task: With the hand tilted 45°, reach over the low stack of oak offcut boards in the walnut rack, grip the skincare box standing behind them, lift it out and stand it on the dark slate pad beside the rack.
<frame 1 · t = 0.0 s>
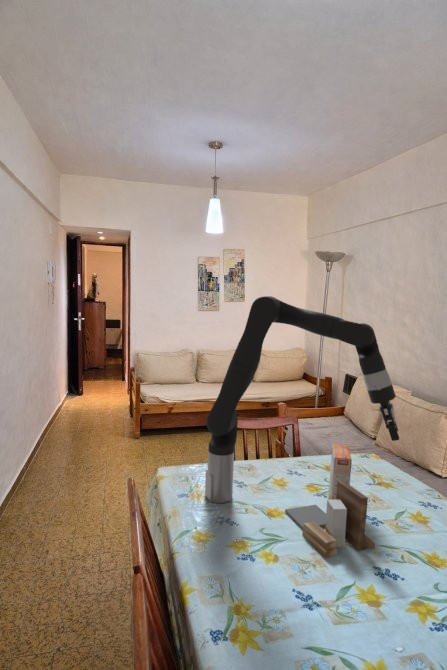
hand: (395, 435, 132), 31 cm above the table, tool tilted 20°, fingers open, 8 cm apart
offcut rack: (334, 541, 129), on the table
cracker box: (337, 509, 149), on the table
skincare box: (334, 542, 129), on the table
slate pad: (309, 518, 142), on the table
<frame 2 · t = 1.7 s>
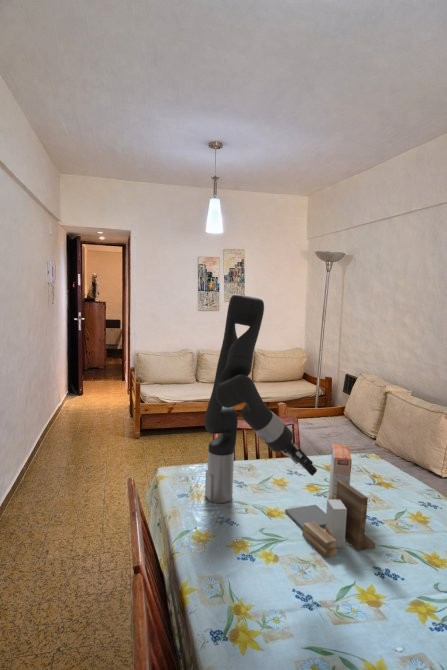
hand: (306, 466, 123), 25 cm above the table, tool tilted 45°, fingers open, 8 cm apart
nothing on the table moved.
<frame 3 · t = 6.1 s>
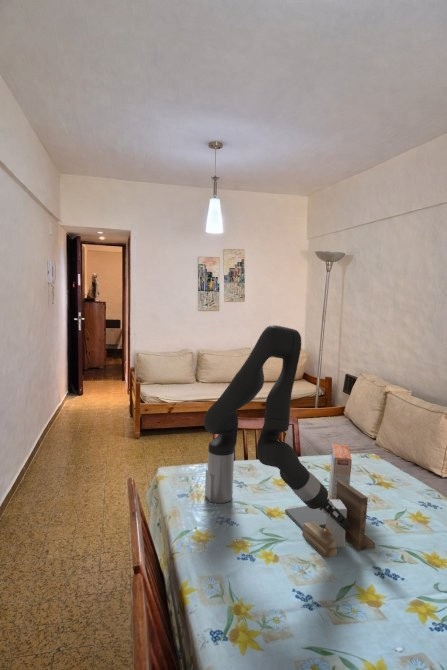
hand: (340, 521, 129), 6 cm above the table, tool tilted 45°, fingers closed on skincare box, 6 cm apart
skincare box: (334, 542, 129), on the table, touching gripper
everything else where it was.
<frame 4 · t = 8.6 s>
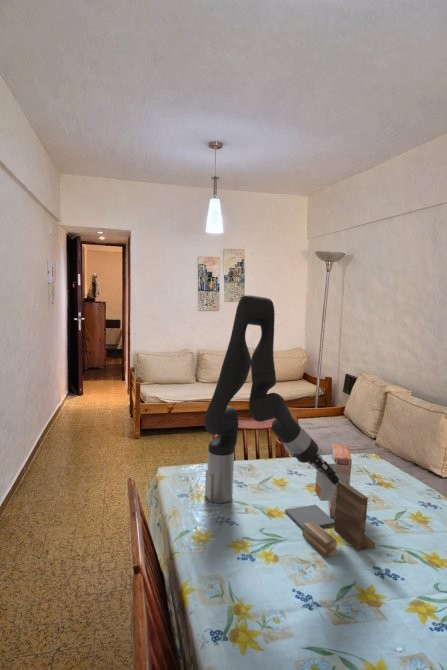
hand: (329, 476, 133), 17 cm above the table, tool tilted 45°, fingers closed on skincare box, 6 cm apart
skincare box: (323, 497, 134), point 11 cm above the table, touching gripper
everything else where it was.
when the fingers open (8 cm above the table, at t = 11.4 s): skincare box stays where it is, resting on slate pad.
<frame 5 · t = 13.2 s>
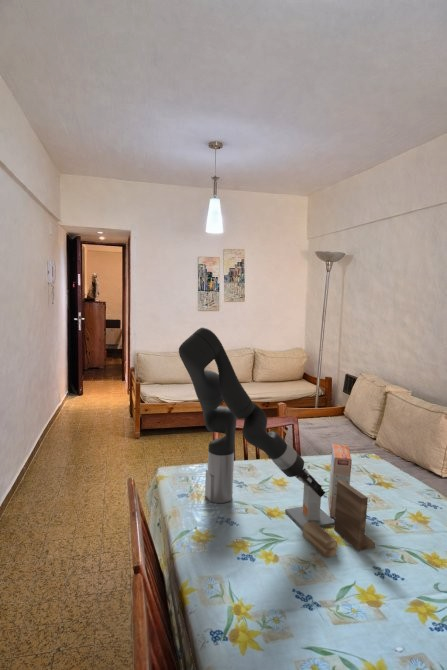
hand: (315, 488, 142), 10 cm above the table, tool tilted 45°, fingers open, 8 cm apart
skincare box: (310, 516, 141), point 1 cm above the table, touching gripper, slate pad
everything else where it was.
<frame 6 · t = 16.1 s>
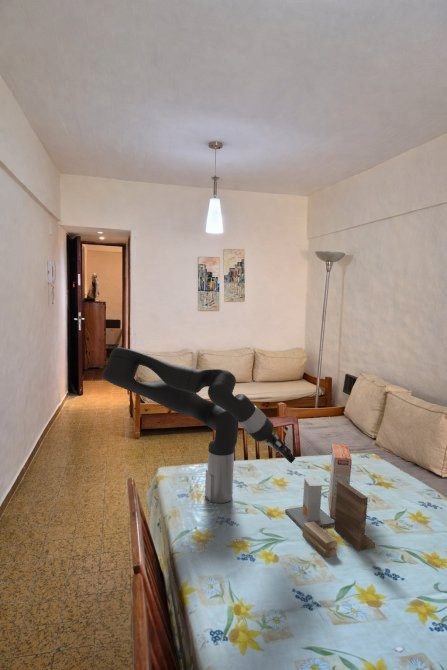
hand: (286, 455, 136), 22 cm above the table, tool tilted 45°, fingers open, 8 cm apart
skincare box: (310, 516, 141), point 1 cm above the table, touching slate pad
everything else where it was.
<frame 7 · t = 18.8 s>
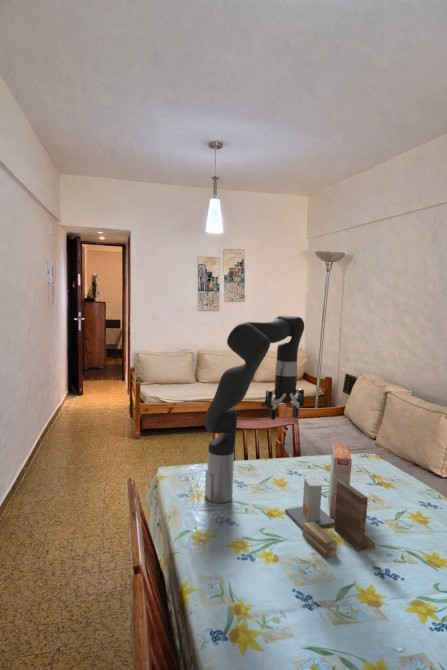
hand: (283, 418, 151), 30 cm above the table, tool pointing down, fingers open, 8 cm apart
nothing on the table moved.
at the end: skincare box inside the target area on the slate pad (0.5 cm from its centre), point 0.8 cm above the slate pad's base; skincare box tilted 0°; the gripper is holding nothing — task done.
